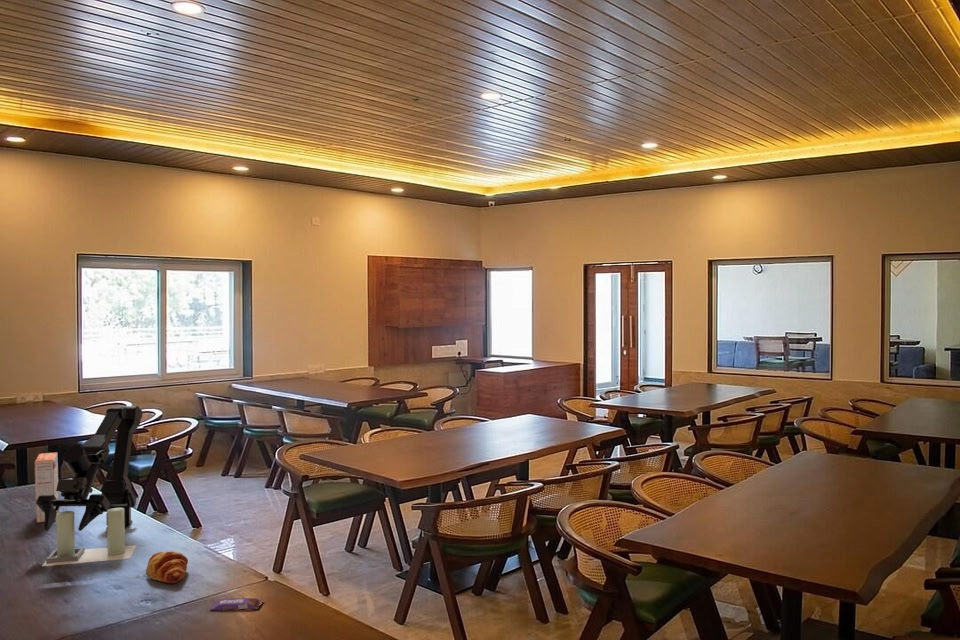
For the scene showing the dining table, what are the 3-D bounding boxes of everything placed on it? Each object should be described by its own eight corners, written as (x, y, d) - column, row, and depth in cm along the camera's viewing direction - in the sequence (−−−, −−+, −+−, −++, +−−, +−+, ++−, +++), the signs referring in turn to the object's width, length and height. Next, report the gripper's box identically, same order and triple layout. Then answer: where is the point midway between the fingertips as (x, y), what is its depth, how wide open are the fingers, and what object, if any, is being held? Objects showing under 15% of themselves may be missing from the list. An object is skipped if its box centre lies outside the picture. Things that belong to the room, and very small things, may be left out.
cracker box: (39, 513, 256) (38, 453, 256) (59, 510, 259) (58, 451, 259) (34, 523, 244) (33, 460, 243) (55, 521, 246) (54, 459, 246)
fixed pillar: (126, 549, 214) (125, 507, 214) (123, 554, 210) (122, 511, 210) (109, 551, 213) (108, 508, 213) (106, 556, 209) (105, 512, 208)
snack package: (209, 605, 173) (216, 597, 178) (209, 613, 173) (216, 605, 178) (258, 604, 174) (264, 596, 179) (258, 612, 174) (264, 604, 179)
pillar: (74, 553, 211) (73, 510, 211) (75, 558, 207) (74, 514, 207) (56, 556, 209) (56, 512, 208) (57, 561, 205) (56, 516, 205)
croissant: (146, 578, 203) (131, 556, 201) (179, 555, 209) (165, 532, 207) (167, 601, 187) (151, 577, 184) (203, 575, 192) (187, 550, 190)
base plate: (137, 548, 218) (137, 541, 218) (129, 561, 207) (129, 554, 207) (54, 555, 212) (53, 547, 212) (41, 569, 201) (41, 561, 201)
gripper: (38, 467, 211) (16, 516, 200) (104, 466, 212) (86, 515, 201) (54, 487, 219) (33, 536, 208) (117, 486, 220) (100, 535, 209)
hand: (62, 530), depth 206 cm, fingers open, 9 cm apart
